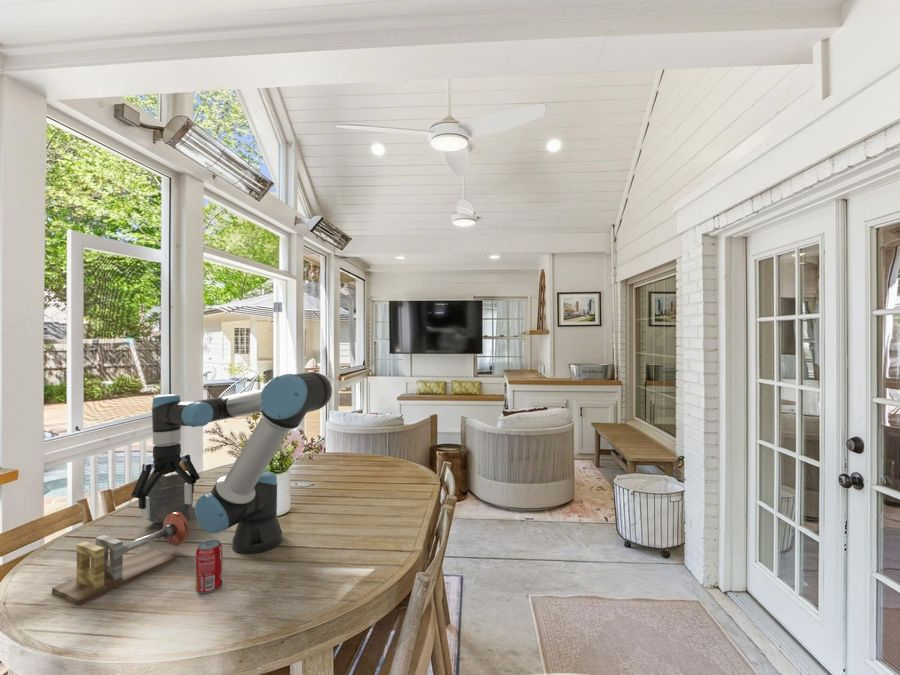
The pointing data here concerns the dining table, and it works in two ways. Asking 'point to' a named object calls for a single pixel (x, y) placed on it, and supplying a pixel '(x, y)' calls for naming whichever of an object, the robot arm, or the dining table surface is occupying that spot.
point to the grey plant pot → (168, 498)
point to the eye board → (127, 573)
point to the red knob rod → (165, 532)
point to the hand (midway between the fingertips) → (167, 510)
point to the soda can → (208, 566)
